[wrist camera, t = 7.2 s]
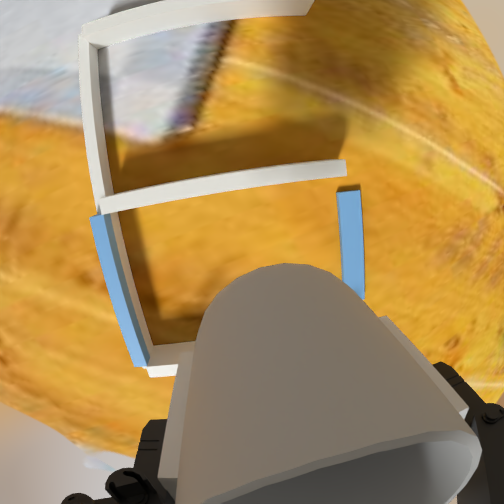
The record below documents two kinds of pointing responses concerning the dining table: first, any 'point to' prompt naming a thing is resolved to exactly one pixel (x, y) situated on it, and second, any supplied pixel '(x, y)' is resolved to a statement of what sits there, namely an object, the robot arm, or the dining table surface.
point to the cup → (313, 403)
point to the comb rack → (108, 204)
